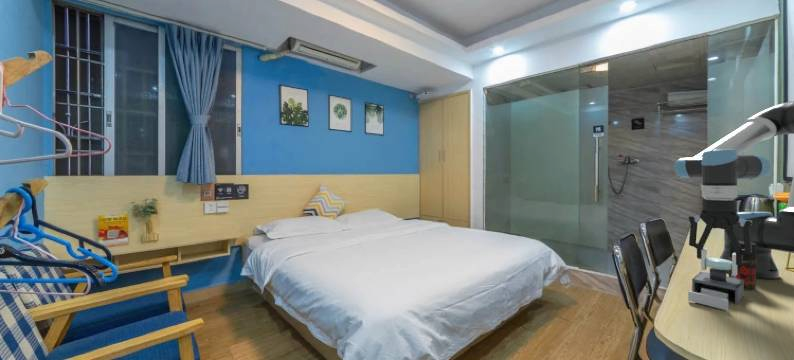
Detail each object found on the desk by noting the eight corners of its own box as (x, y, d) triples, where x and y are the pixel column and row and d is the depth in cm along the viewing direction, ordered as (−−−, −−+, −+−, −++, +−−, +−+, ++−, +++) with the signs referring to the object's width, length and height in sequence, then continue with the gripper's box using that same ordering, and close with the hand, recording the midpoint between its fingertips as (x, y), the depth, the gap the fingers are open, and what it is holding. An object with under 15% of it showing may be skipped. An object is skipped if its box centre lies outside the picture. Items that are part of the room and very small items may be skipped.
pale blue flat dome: (728, 265, 95) (728, 259, 95) (737, 271, 90) (737, 264, 90) (702, 262, 98) (702, 256, 98) (709, 268, 93) (709, 261, 93)
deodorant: (725, 285, 101) (725, 241, 101) (733, 282, 103) (733, 239, 103) (750, 291, 96) (751, 245, 95) (759, 288, 98) (759, 243, 97)
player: (700, 285, 101) (700, 263, 101) (743, 295, 93) (744, 270, 93) (692, 293, 95) (692, 269, 95) (737, 304, 87) (738, 278, 87)
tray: (697, 291, 95) (697, 282, 95) (734, 300, 89) (735, 290, 89) (688, 300, 89) (688, 291, 89) (727, 310, 82) (727, 300, 82)
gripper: (675, 198, 99) (675, 267, 99) (765, 201, 83) (765, 283, 84) (681, 196, 103) (681, 262, 104) (768, 199, 87) (768, 277, 88)
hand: (718, 271), depth 94 cm, fingers closed on pale blue flat dome, 6 cm apart
